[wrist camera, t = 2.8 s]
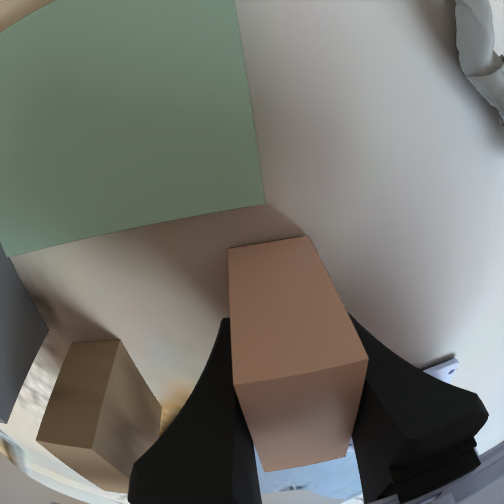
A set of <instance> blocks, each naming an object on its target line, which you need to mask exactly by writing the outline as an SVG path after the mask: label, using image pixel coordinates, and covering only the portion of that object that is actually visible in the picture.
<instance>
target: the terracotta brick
mask: <svg viewBox="0 0 504 504" xmlns="http://www.w3.org/2000/svg"><path fill="white" fill-rule="evenodd" d="M228 275H229V302H230V326H231V348H232V369H233V385H234V388H235V391H236V394H237V397H238V400H239V403H240V406H241V409H242V412H243V415H244V417H245V420H246V423H247V426H248V429H249V431H250V434H251V437H252V440H253V443H254V445H255V448H256V451H257V453H258V456H259V459H260V461H261V464H262V467H263V469H264V472H270V471H277V470H283V469H289V468H295V467H301V466H306V465H311V464H316V463H320V462H325V461H329V460H334V459H338V458H342V457H346V453H347V450H348V446H349V443H350V439H351V435H352V432H353V428H354V424H355V420H356V416H357V412H358V408H359V403H360V399H361V395H362V390H363V385H364V381H365V376H366V371H367V365H368V360H369V358H368V356H367V353H366V351H365V349H364V347H363V345H362V343H361V340H360V338H359V336H358V334H357V332H356V330H355V328H354V325H353V323H352V321H351V319H350V317H349V315H348V313H347V311H346V309H345V307H344V305H343V303H342V301H341V298H340V296H339V294H338V292H337V290H336V288H335V286H334V284H333V282H332V280H331V278H330V276H329V274H328V272H327V270H326V268H325V266H324V265H323V263H322V261H321V259H320V257H319V255H318V253H317V251H316V249H315V247H314V245H313V243H312V241H311V239H310V238H309V236H303V237H297V238H291V239H285V240H279V241H273V242H267V243H261V244H254V245H248V246H242V247H236V248H230V249H228Z"/></svg>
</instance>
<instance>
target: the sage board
mask: <svg viewBox="0 0 504 504" xmlns="http://www.w3.org/2000/svg"><path fill="white" fill-rule="evenodd" d="M261 204H266V203H265V196H264V189H263V182H262V175H261V168H260V161H259V154H258V147H257V140H256V133H255V127H254V120H253V113H252V107H251V100H250V94H249V87H248V81H247V75H246V68H245V62H244V56H243V50H242V44H241V38H240V32H239V26H238V20H237V14H236V8H235V2H234V0H55V1H53V2H51V3H49V4H47V5H45V6H43V7H42V8H40V9H38V10H36V11H34V12H33V13H31V14H29V15H27V16H26V17H24V18H22V19H21V20H19V21H18V22H16V23H14V24H13V25H11V26H10V27H8V28H7V29H5V30H4V31H2V32H1V33H0V243H1V245H2V247H3V250H4V252H5V254H6V256H7V258H8V257H11V256H15V255H19V254H23V253H27V252H31V251H35V250H39V249H43V248H47V247H51V246H55V245H59V244H63V243H68V242H72V241H76V240H81V239H85V238H89V237H94V236H98V235H103V234H107V233H112V232H117V231H121V230H126V229H131V228H136V227H141V226H145V225H150V224H155V223H160V222H166V221H171V220H176V219H181V218H186V217H192V216H197V215H203V214H208V213H214V212H219V211H225V210H231V209H237V208H243V207H249V206H255V205H261Z"/></svg>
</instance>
